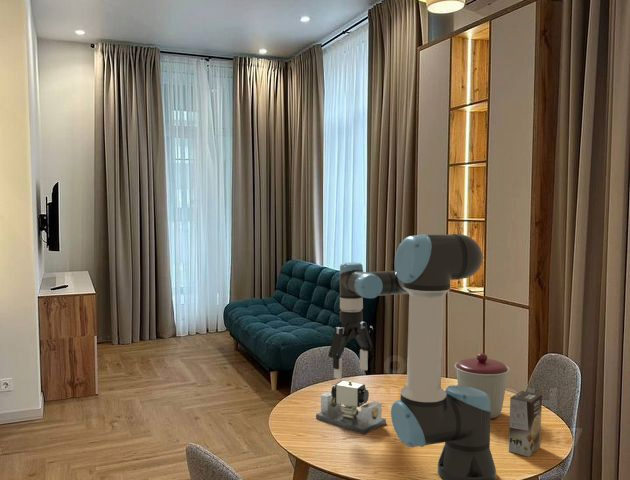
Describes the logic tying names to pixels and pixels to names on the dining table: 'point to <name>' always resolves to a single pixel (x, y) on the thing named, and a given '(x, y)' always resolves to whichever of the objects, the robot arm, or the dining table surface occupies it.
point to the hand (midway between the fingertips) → (351, 373)
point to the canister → (484, 379)
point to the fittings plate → (361, 423)
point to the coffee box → (525, 423)
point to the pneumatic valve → (349, 397)
